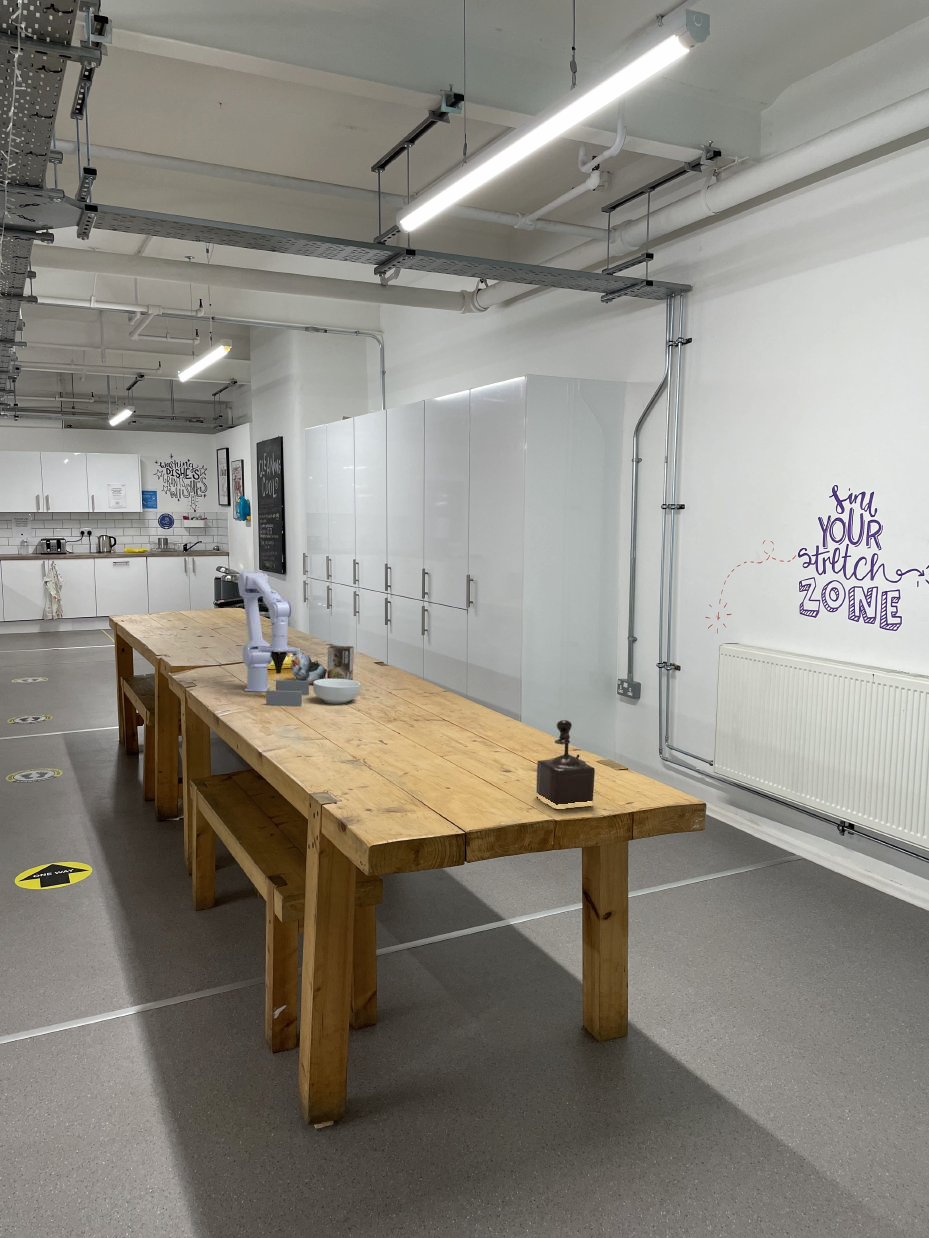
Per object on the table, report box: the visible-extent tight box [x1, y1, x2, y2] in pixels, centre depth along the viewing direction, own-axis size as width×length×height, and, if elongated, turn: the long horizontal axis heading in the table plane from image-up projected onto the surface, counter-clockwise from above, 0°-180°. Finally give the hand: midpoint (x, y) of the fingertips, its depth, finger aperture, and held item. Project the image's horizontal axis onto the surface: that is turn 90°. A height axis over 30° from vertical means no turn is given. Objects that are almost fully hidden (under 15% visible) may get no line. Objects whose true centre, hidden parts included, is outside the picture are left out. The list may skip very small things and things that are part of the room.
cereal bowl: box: [312, 678, 361, 705], centre depth 315 cm, size 17×17×7 cm
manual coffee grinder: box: [536, 719, 596, 805], centre depth 212 cm, size 16×11×18 cm
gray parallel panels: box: [265, 679, 310, 707], centre depth 315 cm, size 21×12×5 cm, turn 3°
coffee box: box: [326, 645, 355, 681], centre depth 341 cm, size 9×6×16 cm
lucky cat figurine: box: [289, 652, 327, 686], centre depth 349 cm, size 15×12×14 cm
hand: (278, 673), depth 315 cm, fingers closed
